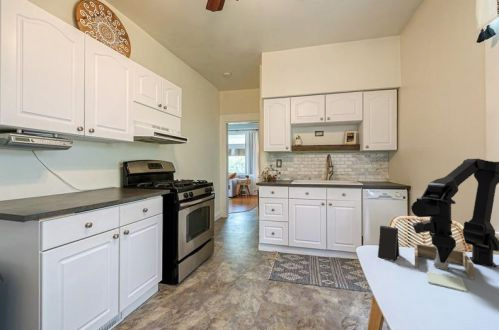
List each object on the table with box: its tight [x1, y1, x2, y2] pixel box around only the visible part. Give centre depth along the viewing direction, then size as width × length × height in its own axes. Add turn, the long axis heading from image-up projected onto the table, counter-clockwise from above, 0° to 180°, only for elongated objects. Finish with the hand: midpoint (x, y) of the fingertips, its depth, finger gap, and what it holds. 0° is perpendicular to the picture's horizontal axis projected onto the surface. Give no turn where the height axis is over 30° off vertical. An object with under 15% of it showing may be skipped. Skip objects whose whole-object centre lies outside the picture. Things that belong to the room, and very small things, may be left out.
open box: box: [414, 243, 475, 280], centre depth 85 cm, size 16×16×4 cm
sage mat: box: [426, 271, 468, 293], centre depth 73 cm, size 9×9×1 cm
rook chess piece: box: [433, 246, 450, 271], centre depth 84 cm, size 4×4×8 cm
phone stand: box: [377, 225, 400, 262], centre depth 94 cm, size 9×6×12 cm, turn 136°
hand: (441, 258), depth 84 cm, fingers open, 9 cm apart
